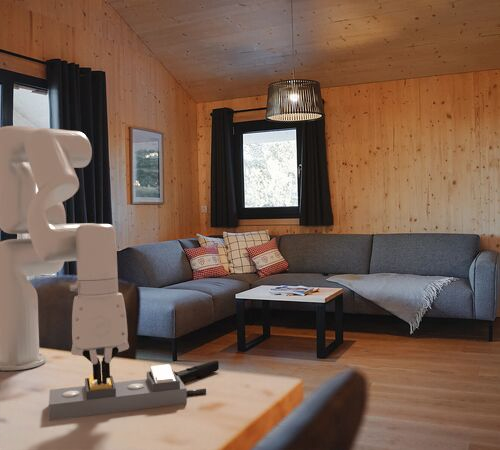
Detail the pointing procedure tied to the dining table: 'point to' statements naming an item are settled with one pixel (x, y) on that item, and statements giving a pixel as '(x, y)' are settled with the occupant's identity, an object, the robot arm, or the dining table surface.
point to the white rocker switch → (162, 373)
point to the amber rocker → (95, 386)
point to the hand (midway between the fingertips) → (101, 382)
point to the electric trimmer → (198, 371)
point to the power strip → (117, 397)
